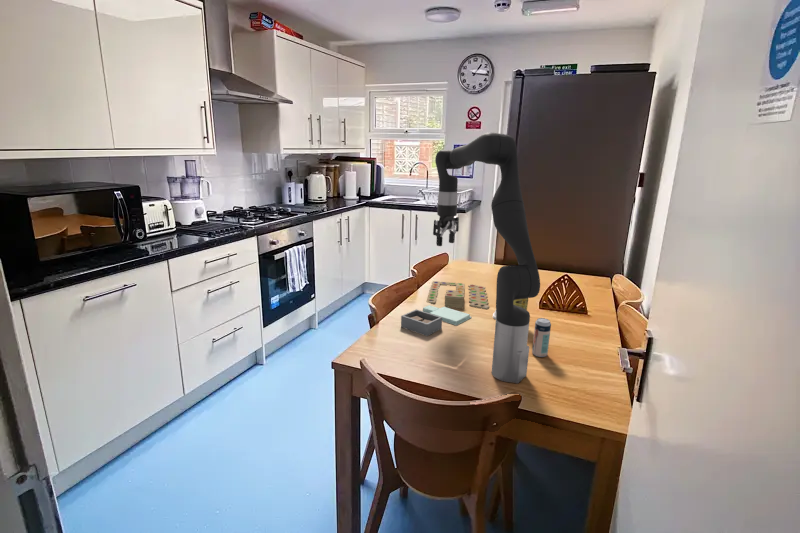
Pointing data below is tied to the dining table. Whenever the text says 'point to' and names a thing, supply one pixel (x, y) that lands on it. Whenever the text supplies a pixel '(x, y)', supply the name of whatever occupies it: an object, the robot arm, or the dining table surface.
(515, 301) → the sauce bottle
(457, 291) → the pile of dominoes
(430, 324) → the tub
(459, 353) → the dining table surface
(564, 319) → the dining table surface
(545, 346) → the beer can
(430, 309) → the lid
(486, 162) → the robot arm
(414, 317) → the walnut block
